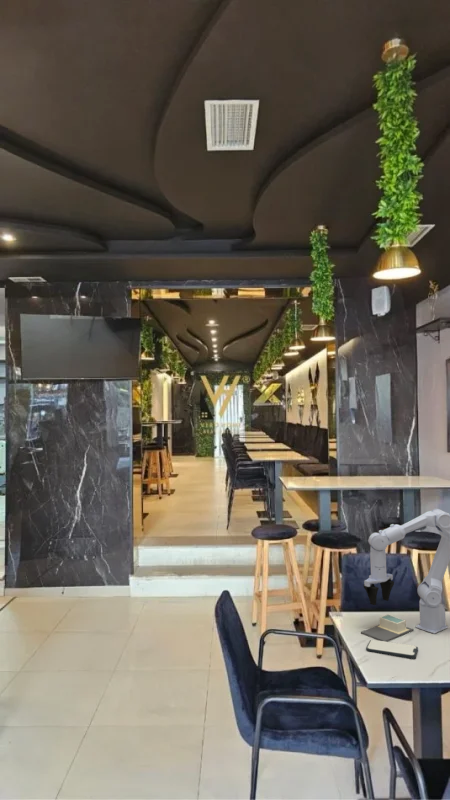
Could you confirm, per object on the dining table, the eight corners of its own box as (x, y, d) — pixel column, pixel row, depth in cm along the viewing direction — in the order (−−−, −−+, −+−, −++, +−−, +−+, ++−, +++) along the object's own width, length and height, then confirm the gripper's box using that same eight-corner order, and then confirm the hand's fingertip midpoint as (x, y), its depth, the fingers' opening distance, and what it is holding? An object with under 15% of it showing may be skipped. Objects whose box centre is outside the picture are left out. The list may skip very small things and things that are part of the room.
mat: (389, 622, 200) (389, 620, 200) (413, 630, 192) (413, 628, 192) (360, 633, 190) (360, 631, 190) (384, 642, 182) (384, 640, 182)
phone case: (365, 653, 175) (415, 661, 168) (365, 648, 175) (415, 656, 168) (370, 643, 183) (418, 650, 176) (370, 638, 183) (418, 645, 176)
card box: (406, 629, 191) (405, 620, 192) (397, 632, 189) (397, 623, 189) (388, 623, 198) (387, 614, 198) (379, 626, 195) (379, 617, 195)
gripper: (381, 560, 204) (382, 595, 203) (357, 566, 195) (358, 603, 195) (396, 564, 198) (398, 600, 198) (372, 570, 190) (373, 608, 189)
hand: (379, 602), depth 196 cm, fingers open, 7 cm apart
